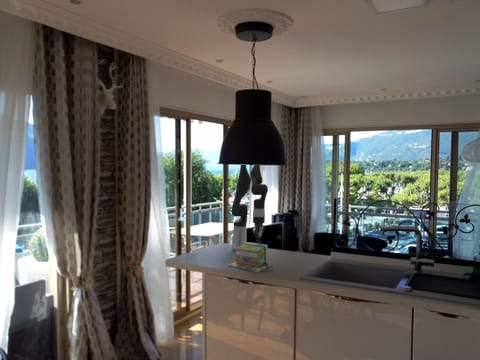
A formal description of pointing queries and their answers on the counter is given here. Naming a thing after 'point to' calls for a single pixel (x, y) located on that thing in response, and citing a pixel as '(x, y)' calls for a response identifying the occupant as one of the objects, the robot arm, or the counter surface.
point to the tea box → (251, 254)
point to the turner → (262, 268)
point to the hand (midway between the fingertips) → (258, 242)
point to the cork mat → (247, 266)
